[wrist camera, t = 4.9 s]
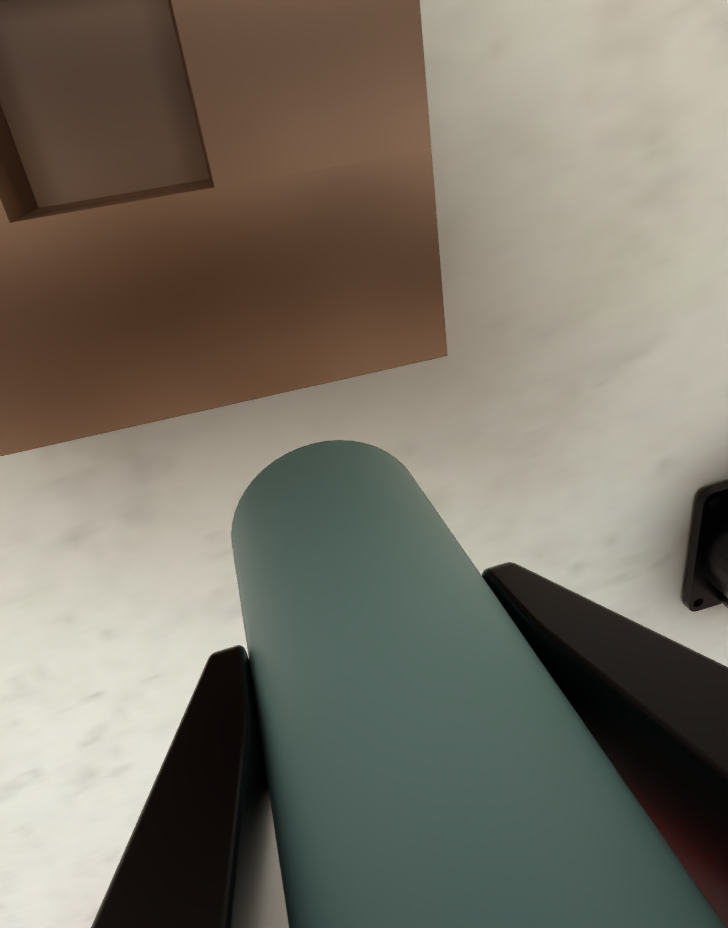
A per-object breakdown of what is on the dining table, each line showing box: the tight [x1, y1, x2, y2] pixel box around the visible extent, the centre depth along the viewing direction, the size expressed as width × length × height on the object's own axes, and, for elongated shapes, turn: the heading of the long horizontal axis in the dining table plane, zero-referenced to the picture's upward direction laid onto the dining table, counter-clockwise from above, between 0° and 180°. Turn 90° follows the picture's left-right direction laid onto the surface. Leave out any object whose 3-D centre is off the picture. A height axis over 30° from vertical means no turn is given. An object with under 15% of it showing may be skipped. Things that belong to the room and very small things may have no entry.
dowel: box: [231, 440, 726, 928], centre depth 7 cm, size 3×3×8 cm
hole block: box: [0, 0, 447, 456], centre depth 14 cm, size 14×14×4 cm
